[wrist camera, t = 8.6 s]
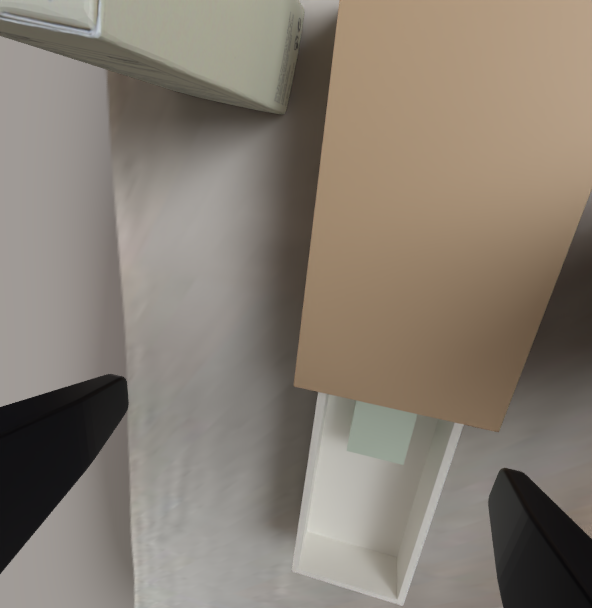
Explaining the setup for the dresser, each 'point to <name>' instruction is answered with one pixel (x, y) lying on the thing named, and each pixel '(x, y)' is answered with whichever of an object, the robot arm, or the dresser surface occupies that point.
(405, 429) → the soap bar
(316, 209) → the sleeve
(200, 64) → the skincare box
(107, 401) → the robot arm
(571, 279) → the dresser surface
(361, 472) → the tray
